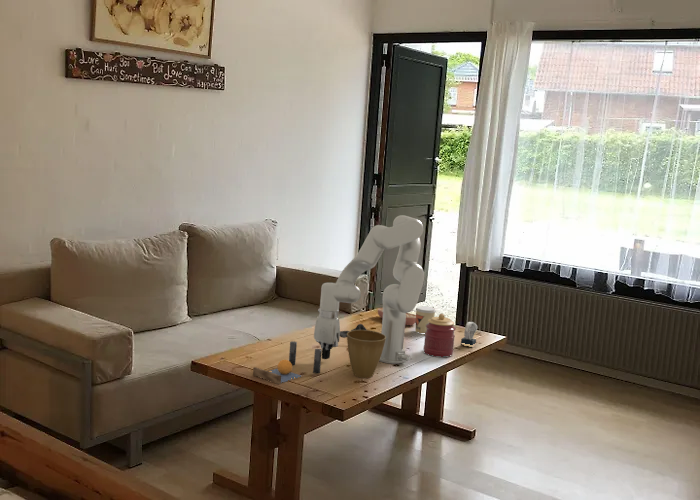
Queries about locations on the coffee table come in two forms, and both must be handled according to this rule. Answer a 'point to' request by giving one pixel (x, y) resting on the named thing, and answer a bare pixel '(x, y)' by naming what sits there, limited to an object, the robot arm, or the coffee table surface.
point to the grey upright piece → (469, 333)
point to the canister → (439, 336)
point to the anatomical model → (409, 317)
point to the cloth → (359, 327)
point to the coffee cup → (423, 317)
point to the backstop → (267, 375)
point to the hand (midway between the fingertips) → (325, 358)
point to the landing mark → (285, 375)
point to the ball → (284, 366)
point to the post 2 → (317, 361)
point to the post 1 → (292, 352)
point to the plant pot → (365, 351)
